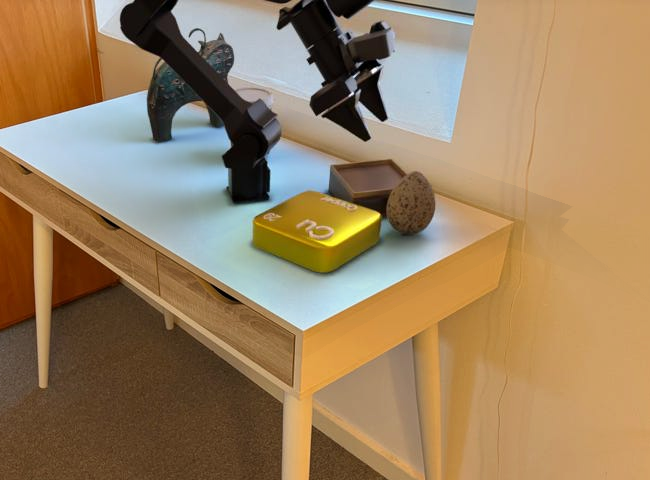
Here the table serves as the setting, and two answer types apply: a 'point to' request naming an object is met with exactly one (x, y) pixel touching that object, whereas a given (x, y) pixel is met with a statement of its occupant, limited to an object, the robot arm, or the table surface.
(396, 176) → the shallow square tray
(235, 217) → the table surface
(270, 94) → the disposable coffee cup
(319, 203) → the element tile
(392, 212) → the decorative egg
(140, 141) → the table surface
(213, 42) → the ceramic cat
